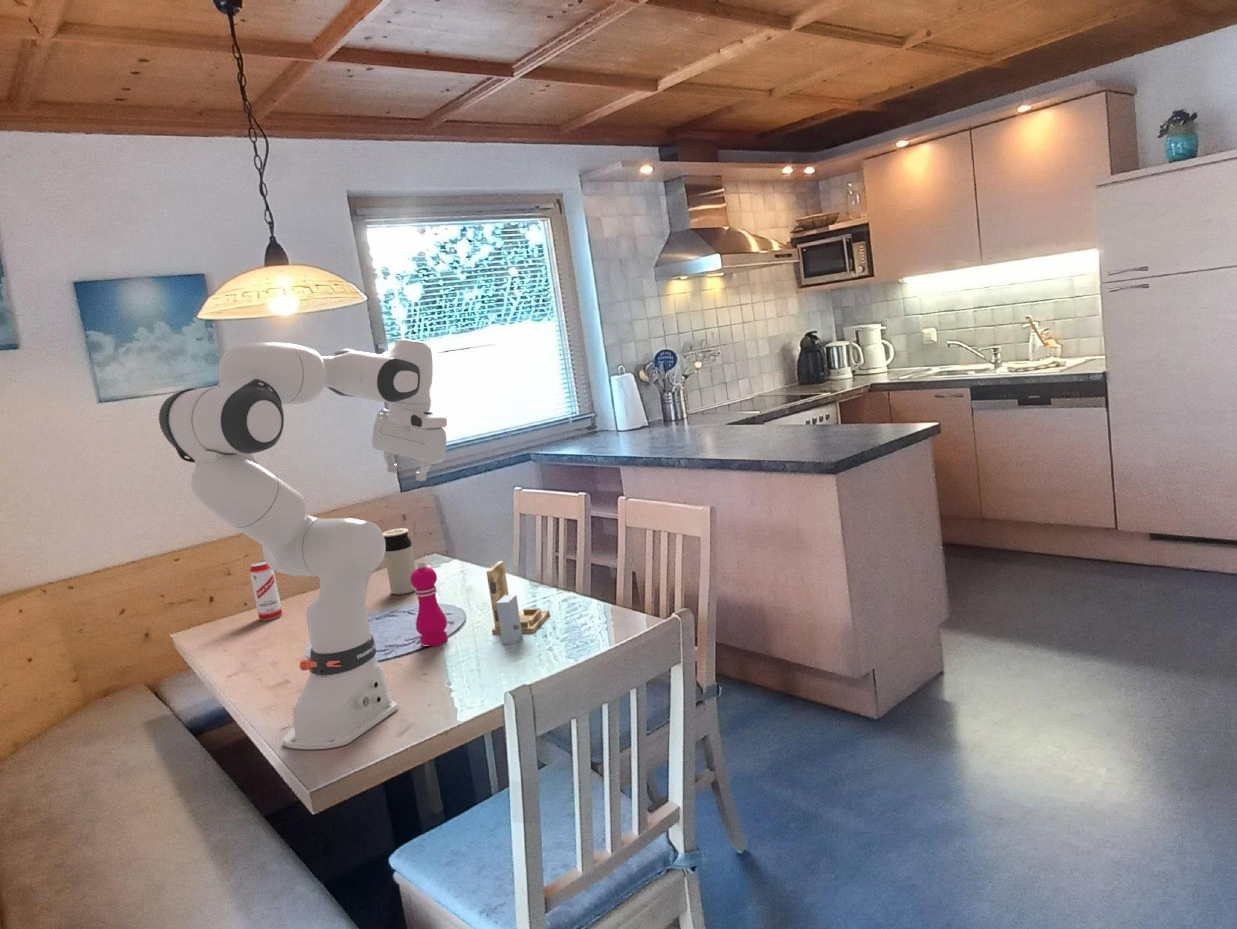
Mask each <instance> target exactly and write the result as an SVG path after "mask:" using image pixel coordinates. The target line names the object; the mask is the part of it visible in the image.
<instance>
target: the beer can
mask: <svg viewBox="0 0 1237 929" xmlns="http://www.w3.org/2000/svg"><path fill="white" fill-rule="evenodd" d="M249 575H250V580H251V586H252V590H253V595H254V600H255V605H256V610H257V615H258V618H259V619H260V620H262V621H265V622H267V621H273V620H276V619H278V618H280V617H281V615H282V614H283V609H282V604H281V598H280V594H279V588H278V583H277V579H276V574H275V571H274V570H273V569H271V568H270V567H269V566H268V565H267V563H266V561H265V560H261V561H256V562H254V563H251V564H250V569H249Z"/></svg>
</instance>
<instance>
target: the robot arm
mask: <svg viewBox="0 0 1237 929" xmlns="http://www.w3.org/2000/svg"><path fill="white" fill-rule="evenodd" d="M218 366H219V367H218V375H219V382H218V384H217V385H216V386H212V387H211V386H210V387H202V388H196V387H195V388H194V387H193V388H192V387H191V388H187V389H184V390H183V389H182V390H181V391H177V392H176V393H174V394H172V395H170V396H169V397H168V398H166V400H165V401H163V403H162V405H161V407H160V410H159V414H158V422H159V426H160V429H161V432H162V434H163V436H164V437H165V439H166V440H167V442H169V444H171V446H172V447H173V448H175V451H176V452H177V455H178V457H179V458H180V459H182V461H185V462H189V463H195V466H194V469H193V472H192V475H191V479H190V484H191V490H192V492H193V494H194V495H195V497H197V498H196V499H198V500H199V501H200V502H201V503H202V504H203V505H204V506H205V507H206V508H208V510H210V511H211V512H212V513H213V514H214V515H216V516H217V517H219V518H220V519H221V520H223V522H225V523H227V524H229V526H232V527H233V528H235V529H236V530H239V531H240V532H241V533H243V534H244V535H245V536H247V537H249V538H250V539H252V540H254V541H256V542H257V543H258V544H260V545H261V546H262V554H263V559H264V561H266V563H267V565H268V566H269V567H270V568H271V569H273V570H274V572H277V573H281V574H284V575H289V576H293V577H318V578H319V585H320V586H319V593H318V596H316V598H315V599H313V600H312V601H311V602H310V604H309V605H308V606H307V608H306V611H305V619H306V625H307V629H308V634H309V639H310V640H309V641H310V645H311V649H310V653H309V659H301V660H300V662H299V665H298V667H299V670H301V671H309V676H308V677H307V680H306V681H305V684H304V686H303V688H302V690H301V692H300V694H299V696H298V698H297V700H296V702H295V704H294V706H293V708H292V719H293V727H292V728H291V729H290V730H289V731H288V733H286V734H285V735H284V737H283V738H282V745H283V746H284V747H286V748H289V749H294V750H325V749H332V748H338V747H342V746H345V745H348V744H349V743H351V742H352V741H355V740H356V739H357V738H358V737H360V736H361V735H362V734H364V733H365V732H367V731H368V730H370V729H371V728H372V727H374V726H376V725H377V724H379V723H380V722H381V721H383V720H384V719H385V718H387V717H389V716H391V714H393V713H394V712H396V711H397V710H398V709H399V707H398V704H397V702H396V701H395V700H393V699H392V696H391V692H390V689H389V688H390V687H389V685H388V681H387V678H386V674H385V670H384V669H383V667H382V666H381V664H380V663H379V661H378V660H377V657H376V654H377V648H376V641H375V640H374V636H373V634H372V633H371V630H370V624H369V618H368V617H369V615H368V608H367V600H366V599H367V598H366V597H367V588H368V585H369V581H370V579H371V576H372V574H373V573H374V572H375V570H376V569H377V568H379V566H380V565H381V563H382V562H383V560H384V558H385V548H386V545H385V538H384V535H383V533H384V532H383V531H382V529H381V528H380V527H379V525H377V524H376V523H374V522H371V521H368V520H363V519H358V518H353V517H342V518H341V517H340V518H320V517H315V516H311V515H309V514H307V512H308V511H307V508H308V507H307V502H306V500H305V498H304V496H303V495H302V493H300V492H298V490H295V489H294V488H293V487H291V485H289V484H288V483H286V482H284V481H283V480H282V479H281V478H279V477H277V476H276V475H275V474H273V473H272V472H271V471H269V470H268V469H266V468H265V467H263V466H262V465H260V464H259V463H258V462H257V460H256V459H255V457H254V456H253V455H252V454H255V453H260V452H264V451H266V450H269V449H271V448H272V447H274V446H275V445H276V444H277V443H278V442H279V440H280V437H281V436H282V434H283V429H284V423H285V422H284V420H285V418H284V415H285V414H284V409H283V405H299V404H305V403H308V402H312V401H314V400H316V399H317V398H318V397H319V396H320V394H321V393H322V392H323V389H324V388H326V389H328V390H330V391H331V392H333V393H335V394H337V395H339V396H342V397H349V398H351V397H352V398H360V399H366V400H370V401H376V402H383V403H388V409H386V408H381V409H380V410H379V411H378V412H377V413H376V419H375V421H374V424H373V430H372V437H371V438H372V439H371V444H372V448H373V449H375V450H378V451H381V452H383V458H384V461H385V464H386V472H388V473H390V474H393V473H394V474H395V473H398V472H397V471H398V464H397V463H396V462H395V456H396V455H397V456H401V457H404V458H407V459H412V460H416V461H419V466H420V468H419V470H418V471H416V472H415V480H416V481H419V482H426V480H427V473H428V472H429V470H430V468H431V467H432V464H434V465H435V464H442V463H443V461H444V460H445V459H446V455H447V454H446V453H447V434H446V431H445V429H444V428H445V427H447V424H448V423H447V422H448V420H447V418H446V417H445V416H444V415H442V414H441V413H439V412H438V411H437V410H435V408H433V407H432V405H431V404H432V401H431V400H432V399H431V392H430V389H431V387H432V385H433V367H434V366H433V354H432V349H431V347H430V346H429V345H428V344H427V343H425V342H422V341H419V340H413V339H408V338H398V339H396V340H395V342H394V345H393V346H392V347H390V349H388V350H387V351H384V352H382V353H381V354H378V353H371V352H366V351H360V350H355V349H351V348H341V349H339V350H337V351H335V352H333V353H331V354H329V355H320V354H319V352H318V351H317V350H315V349H312V348H310V347H306V346H302V345H299V344H296V343H289V342H287V343H286V342H272V341H261V342H250V343H243V344H242V343H241V344H237V345H235V346H232V347H231V348H229V349H228V350H227V351H225V353H224V354H223V356H222V357H221V359H220V362H219V365H218Z"/></svg>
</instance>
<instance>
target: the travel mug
mask: <svg viewBox="0 0 1237 929" xmlns="http://www.w3.org/2000/svg"><path fill="white" fill-rule="evenodd" d="M408 532H409V529H408V528H403V527H402V528H393V529H390V530H387V531H384V532H382V533H383V535H384V538H385V545H386V548H385V554H384V559H385V564H386V570H387V577H388V582H389V589H390V593H391V594H393V595H396V596H398V595H399V596H400V595H406V594H410V593H413V592H415V589H416V588H415V587H414V586H413V585H412V584H411V575H412V573H413V572H414V571H415V570H416V569H417V567H416V562H415V556H414V551H413V546H412V544H413V543H412V540H411V538H410V537H409V535H408Z"/></svg>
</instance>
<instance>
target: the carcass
mask: <svg viewBox="0 0 1237 929" xmlns="http://www.w3.org/2000/svg"><path fill="white" fill-rule="evenodd" d="M486 576H487V585H488V590H489V596H490V603H491V610H492V616H493V622H494V623H493V624H494V627H493V628H492V629H491V633H492V635H501V631H500V624H499V618H498V611H497V605H496V602H498V601H499V600H500V599H501V598H502V597H503V596H504V595H510V594H509V589H508V588H509V587H508V582H507V575H506V567H505V562H504V560H498V561H497V562H496V563H495V564H494V565H492V566H491V567H490V568H489V569H486ZM519 616H520V623H521V630H522V634H534V632H536V630H537V629H538V628H539V627H540V626H541V625H542V624H543V623H544V621H546V620H547V618H548V617H549V616H550V610H541V609H540V608H539V607H538V608H524V609H523V611H519Z"/></svg>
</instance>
